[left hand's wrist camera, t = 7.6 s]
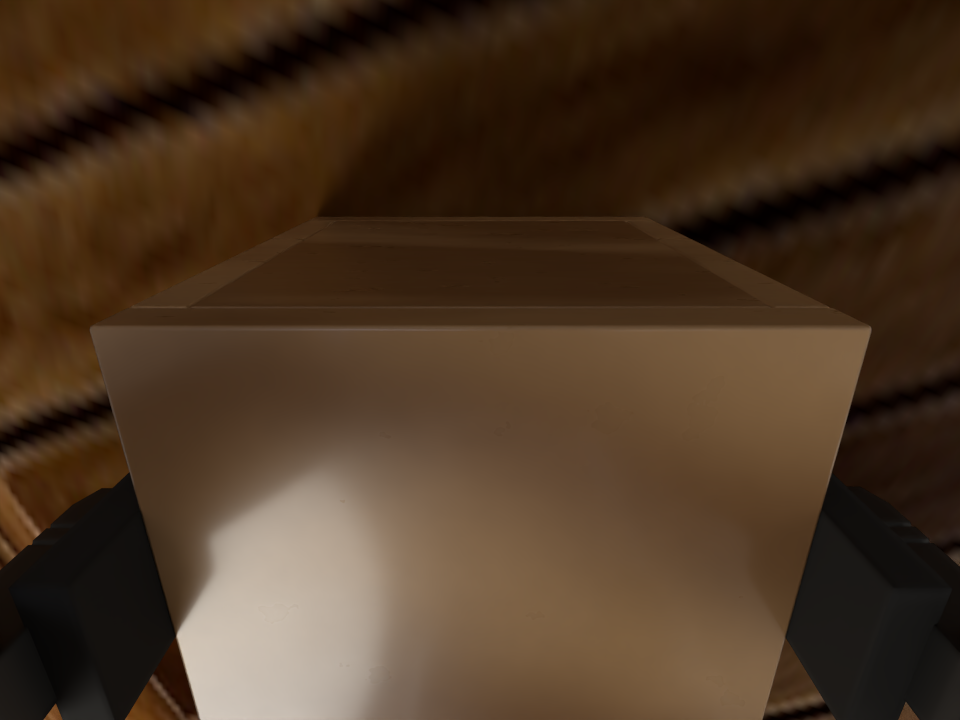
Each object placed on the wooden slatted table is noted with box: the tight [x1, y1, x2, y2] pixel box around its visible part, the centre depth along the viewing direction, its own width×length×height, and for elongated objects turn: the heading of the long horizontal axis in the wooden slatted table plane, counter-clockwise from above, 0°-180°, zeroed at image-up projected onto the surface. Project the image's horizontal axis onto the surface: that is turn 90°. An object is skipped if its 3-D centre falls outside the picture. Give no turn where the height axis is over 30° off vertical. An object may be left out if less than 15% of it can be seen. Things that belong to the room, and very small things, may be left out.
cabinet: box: [90, 217, 871, 720], centre depth 16 cm, size 17×11×11 cm, turn 0°
